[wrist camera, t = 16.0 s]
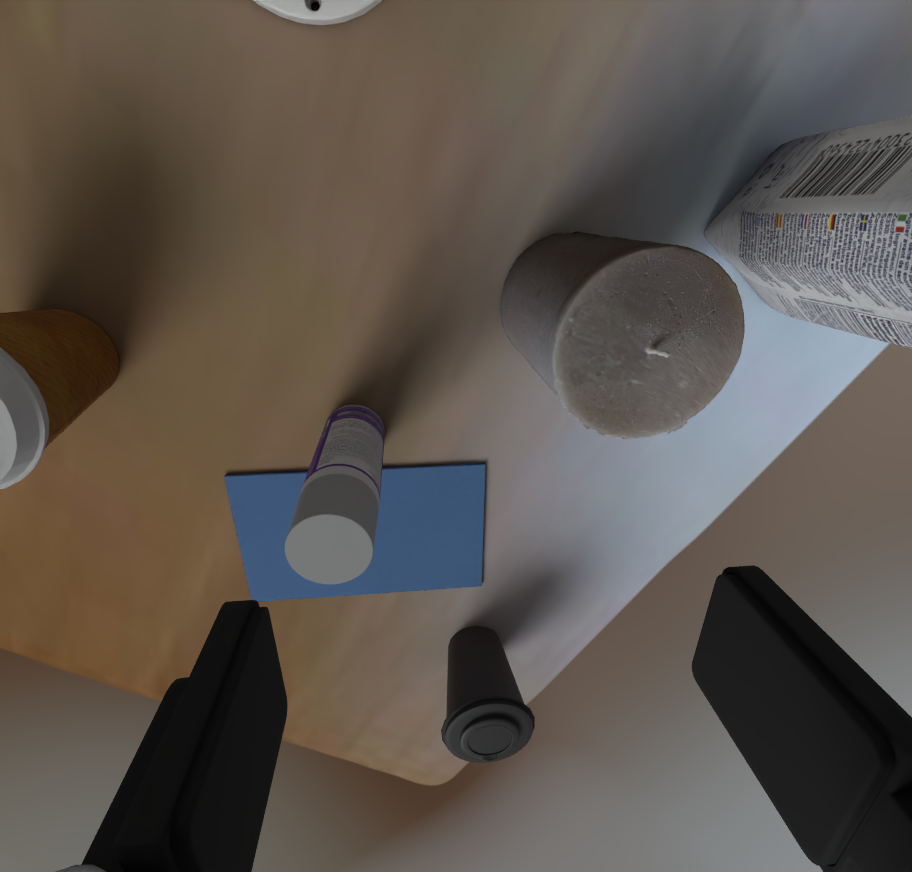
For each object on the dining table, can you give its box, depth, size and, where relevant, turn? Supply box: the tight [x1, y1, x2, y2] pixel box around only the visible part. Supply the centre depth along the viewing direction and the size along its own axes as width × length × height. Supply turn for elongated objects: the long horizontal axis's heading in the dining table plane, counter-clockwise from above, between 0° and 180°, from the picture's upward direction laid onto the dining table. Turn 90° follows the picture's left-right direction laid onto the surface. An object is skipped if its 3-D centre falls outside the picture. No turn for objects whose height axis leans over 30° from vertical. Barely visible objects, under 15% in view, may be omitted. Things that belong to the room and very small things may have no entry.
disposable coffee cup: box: [0, 309, 119, 489], centre depth 28 cm, size 10×10×12 cm
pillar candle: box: [501, 232, 744, 439], centre depth 29 cm, size 10×10×15 cm
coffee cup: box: [441, 626, 535, 763], centre depth 45 cm, size 8×8×10 cm
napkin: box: [224, 463, 486, 602], centre depth 42 cm, size 13×21×1 cm, turn 90°
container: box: [285, 404, 385, 584], centre depth 32 cm, size 5×5×15 cm
